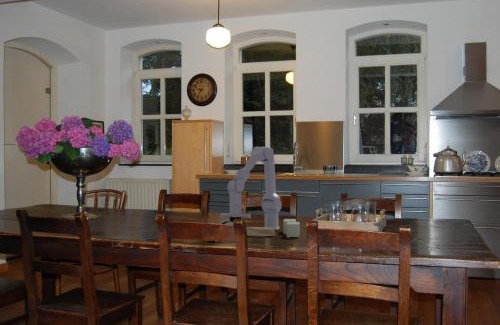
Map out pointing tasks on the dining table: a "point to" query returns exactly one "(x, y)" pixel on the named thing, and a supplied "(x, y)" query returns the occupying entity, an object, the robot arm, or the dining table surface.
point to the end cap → (293, 229)
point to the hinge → (226, 222)
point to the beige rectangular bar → (260, 231)
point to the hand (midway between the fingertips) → (235, 232)
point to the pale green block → (286, 224)
